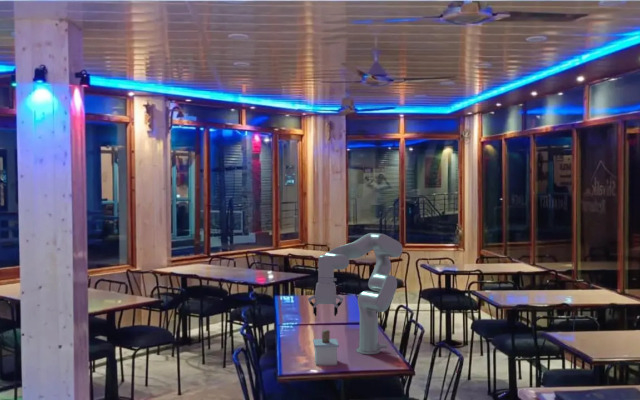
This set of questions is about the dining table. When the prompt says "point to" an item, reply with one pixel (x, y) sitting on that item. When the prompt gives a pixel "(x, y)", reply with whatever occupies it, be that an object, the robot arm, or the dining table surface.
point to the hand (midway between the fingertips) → (325, 315)
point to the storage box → (326, 356)
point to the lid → (325, 340)
